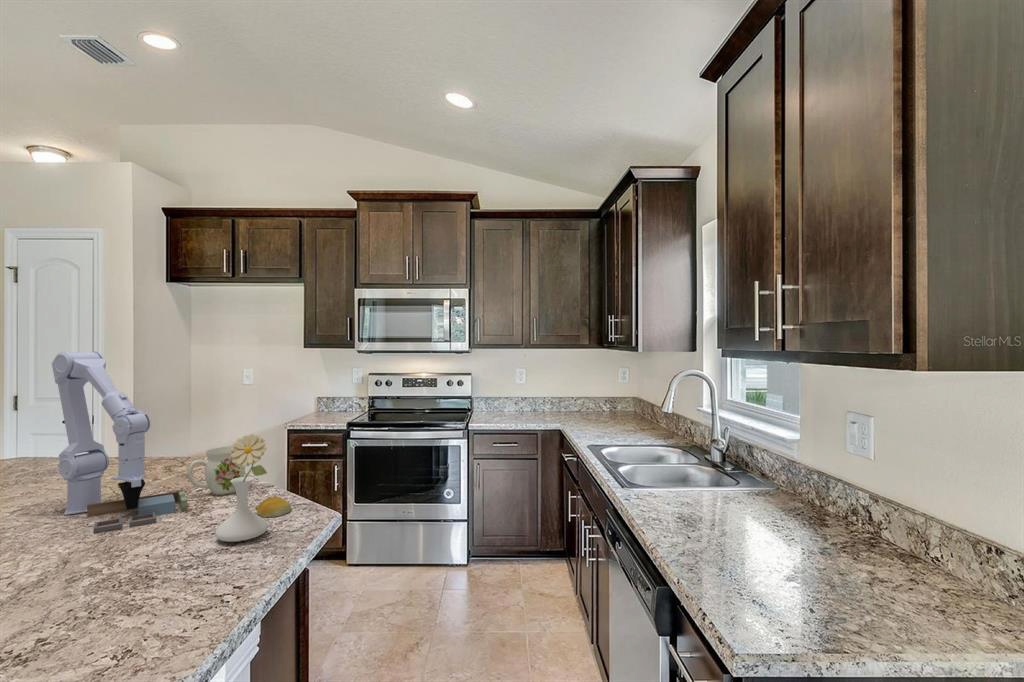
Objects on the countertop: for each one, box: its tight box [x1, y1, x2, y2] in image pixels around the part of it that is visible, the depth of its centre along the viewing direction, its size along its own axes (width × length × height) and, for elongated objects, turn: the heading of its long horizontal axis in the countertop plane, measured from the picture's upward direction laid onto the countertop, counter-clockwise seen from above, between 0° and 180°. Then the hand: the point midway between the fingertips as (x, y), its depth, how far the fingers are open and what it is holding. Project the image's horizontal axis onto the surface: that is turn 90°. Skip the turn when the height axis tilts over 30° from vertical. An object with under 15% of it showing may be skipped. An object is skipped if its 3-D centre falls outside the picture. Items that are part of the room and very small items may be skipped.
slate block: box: [137, 494, 176, 517], centre depth 140 cm, size 8×8×4 cm
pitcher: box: [187, 445, 246, 496], centre depth 158 cm, size 11×18×14 cm, turn 131°
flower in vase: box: [214, 433, 270, 543], centre depth 122 cm, size 13×11×25 cm
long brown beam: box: [86, 490, 188, 518], centre depth 139 cm, size 12×22×3 cm, turn 127°
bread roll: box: [256, 496, 292, 518], centre depth 139 cm, size 8×9×4 cm
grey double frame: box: [93, 512, 157, 535], centre depth 130 cm, size 6×12×1 cm, turn 127°
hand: (131, 508), depth 138 cm, fingers closed
